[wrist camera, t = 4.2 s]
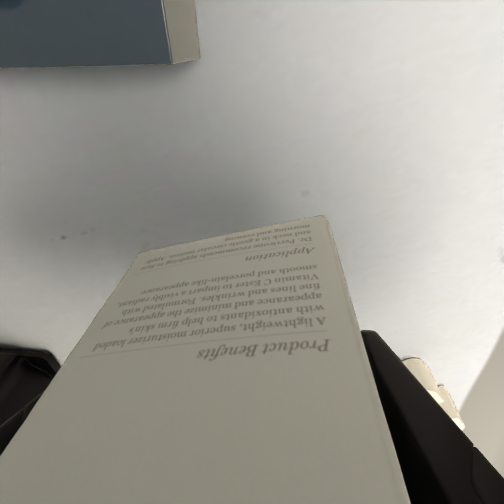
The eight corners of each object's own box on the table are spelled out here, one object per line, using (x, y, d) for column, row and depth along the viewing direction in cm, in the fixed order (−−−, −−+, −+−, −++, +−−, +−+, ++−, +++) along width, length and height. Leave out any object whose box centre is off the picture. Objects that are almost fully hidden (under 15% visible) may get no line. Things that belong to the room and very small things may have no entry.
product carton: (205, 361, 13) (133, 647, 7) (137, 246, 9) (-122, 603, 3) (351, 347, 11) (428, 693, 5) (331, 207, 8) (471, 691, 2)
